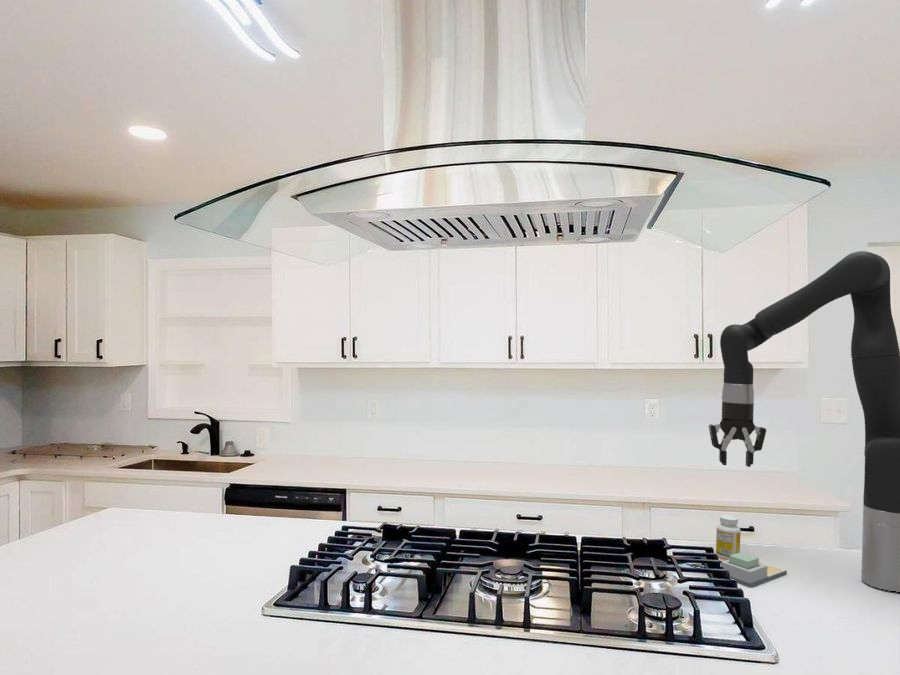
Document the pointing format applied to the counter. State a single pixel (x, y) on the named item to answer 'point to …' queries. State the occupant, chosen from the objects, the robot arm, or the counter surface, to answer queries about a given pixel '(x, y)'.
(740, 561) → the button
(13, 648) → the counter surface
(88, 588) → the counter surface
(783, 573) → the grey tray
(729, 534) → the supplement bottle
